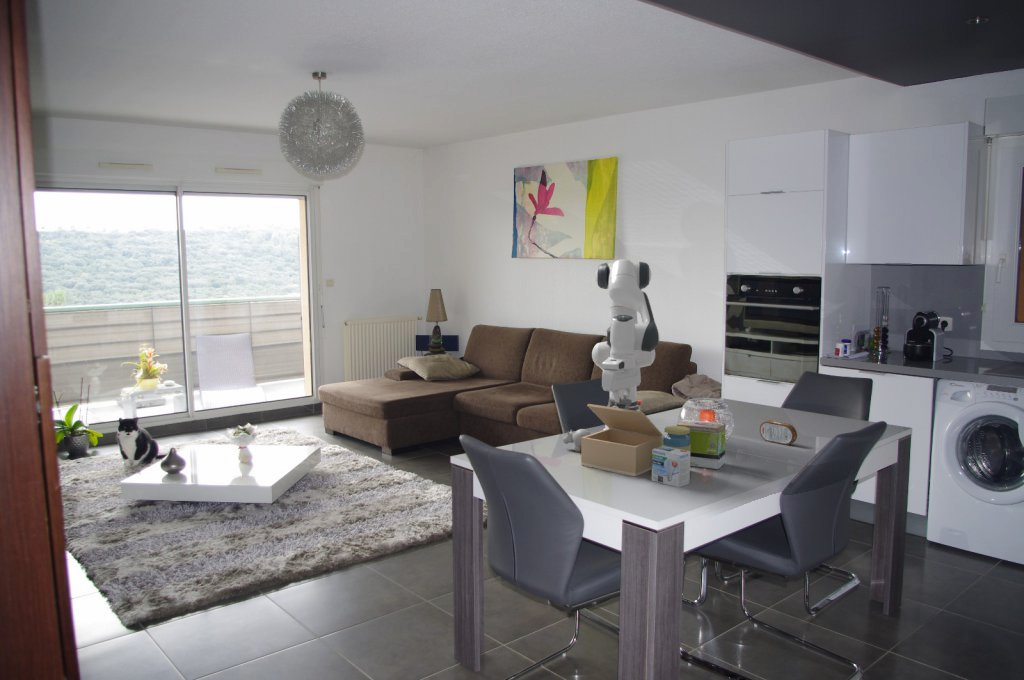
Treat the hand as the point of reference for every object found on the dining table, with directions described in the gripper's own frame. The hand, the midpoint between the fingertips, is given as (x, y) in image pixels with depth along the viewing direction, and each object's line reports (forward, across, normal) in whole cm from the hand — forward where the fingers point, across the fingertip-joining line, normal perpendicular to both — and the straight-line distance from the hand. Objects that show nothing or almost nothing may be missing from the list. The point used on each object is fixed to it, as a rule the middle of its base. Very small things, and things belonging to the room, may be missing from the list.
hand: (621, 401), depth 258 cm
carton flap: (+7, -2, 0) cm, 8 cm away
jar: (+23, -6, +19) cm, 30 cm away
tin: (+22, -66, +31) cm, 77 cm away
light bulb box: (+24, +6, +23) cm, 33 cm away
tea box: (+23, -20, +21) cm, 37 cm away
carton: (+23, 0, 0) cm, 23 cm away
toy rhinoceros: (+23, -7, -24) cm, 34 cm away
